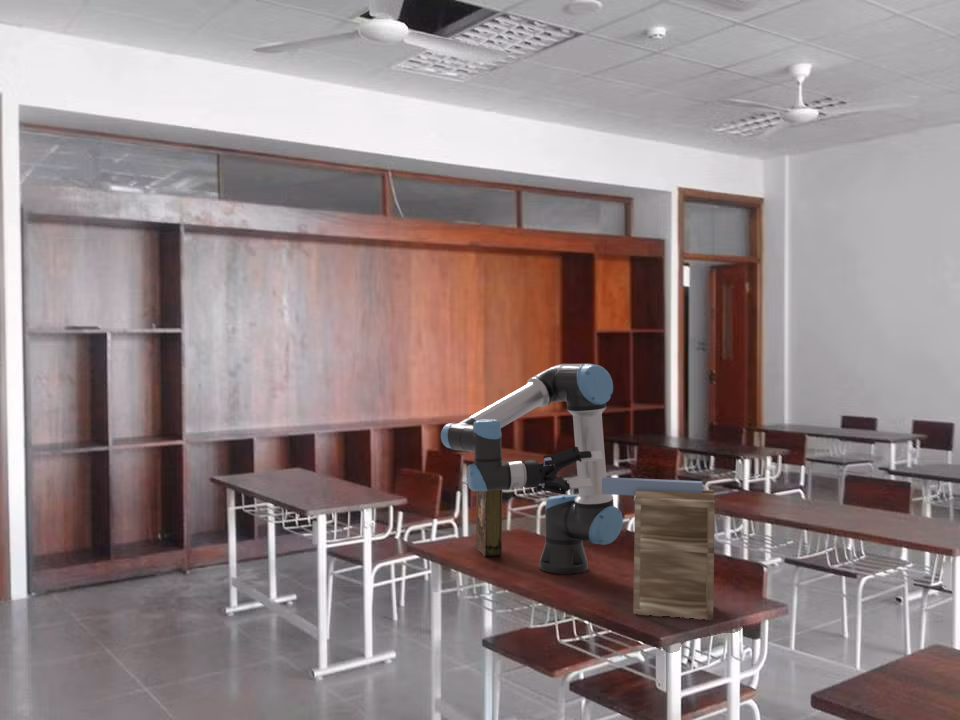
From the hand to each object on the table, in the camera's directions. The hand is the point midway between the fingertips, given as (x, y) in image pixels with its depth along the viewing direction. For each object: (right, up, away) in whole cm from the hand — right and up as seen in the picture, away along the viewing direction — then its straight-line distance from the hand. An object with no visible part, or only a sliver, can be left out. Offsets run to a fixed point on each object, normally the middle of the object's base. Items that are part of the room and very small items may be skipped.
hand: (596, 469), depth 251 cm
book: (-30, -35, +52) cm, 69 cm away
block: (+13, -5, -14) cm, 20 cm away
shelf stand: (+18, -35, -15) cm, 42 cm away
